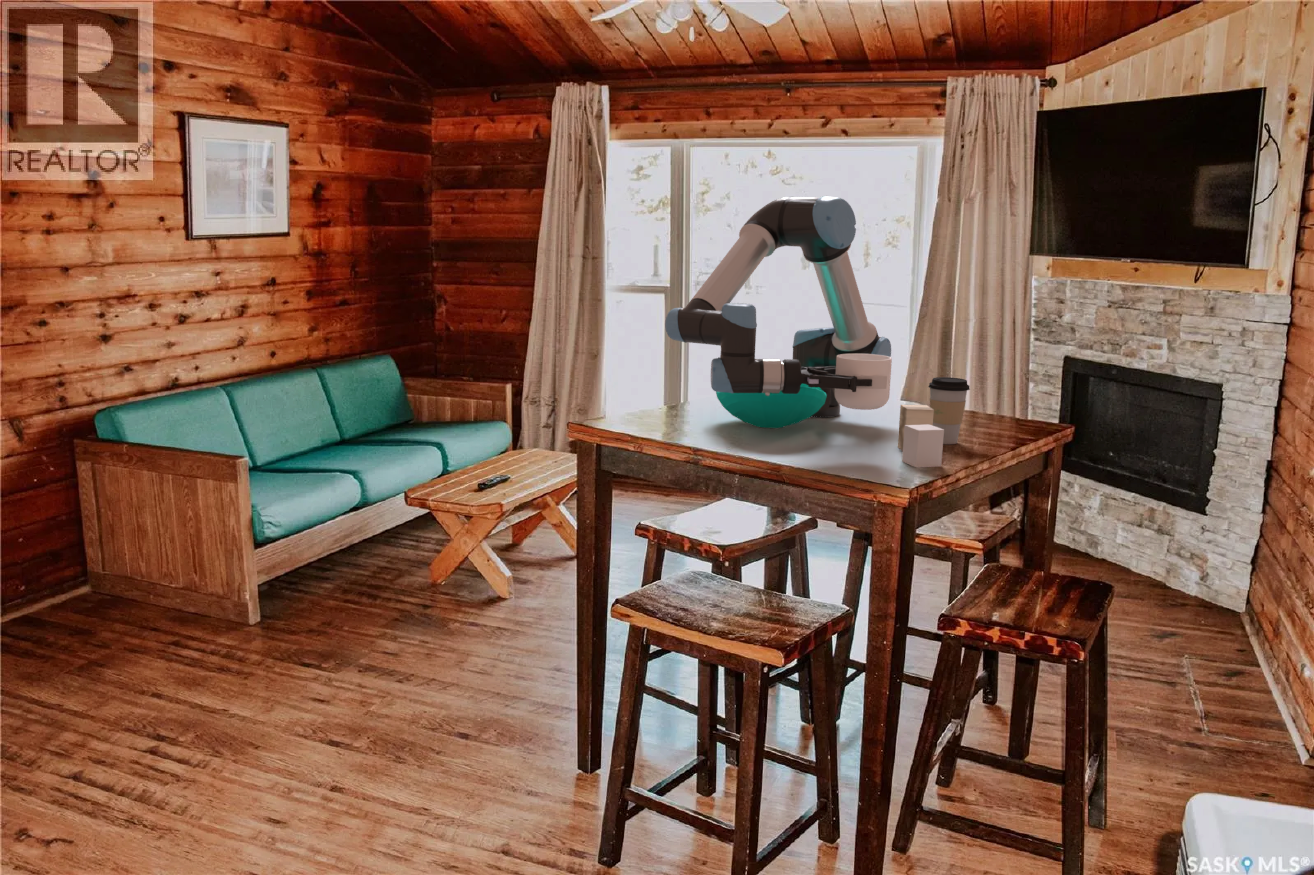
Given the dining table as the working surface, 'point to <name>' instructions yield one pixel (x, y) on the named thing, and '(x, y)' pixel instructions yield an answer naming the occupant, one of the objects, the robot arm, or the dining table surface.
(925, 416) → the birch block
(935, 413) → the coffee cup
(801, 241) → the robot arm
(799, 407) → the table top decor
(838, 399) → the handleless ceramic cup
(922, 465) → the pale pink block
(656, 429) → the dining table surface
